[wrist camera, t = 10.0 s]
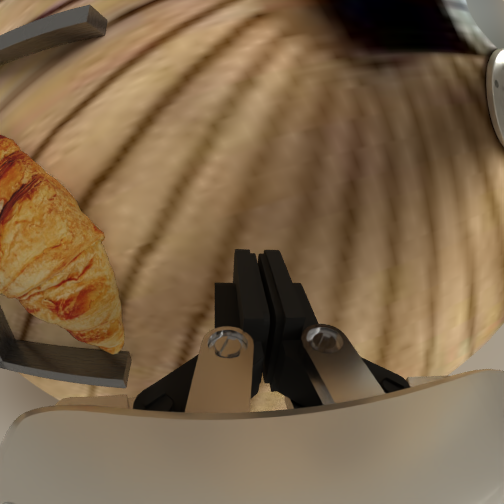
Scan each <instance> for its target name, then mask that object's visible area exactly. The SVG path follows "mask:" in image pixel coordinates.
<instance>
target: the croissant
mask: <svg viewBox="0 0 504 504" xmlns="http://www.w3.org/2000/svg"><path fill="white" fill-rule="evenodd" d="M104 238H105V236H104V233H103V232H102V231H101V230H99V229H98V228H97V227H96V226H95V225H94V224H93V223H92V222H91V220H90V219H89V218H88V217H87V216H86V215H85V214H83V213H82V212H81V210H80V208H79V206H78V204H77V202H76V200H75V199H74V198H73V196H72V195H71V194H70V193H69V192H68V191H67V190H66V189H65V188H64V187H63V186H62V185H61V184H60V183H59V182H58V181H57V180H56V179H55V178H53V177H52V176H50V175H48V174H47V173H46V172H45V171H44V170H43V169H42V168H41V166H40V165H38V164H37V163H36V162H34V161H33V160H32V159H31V158H30V157H29V156H28V155H27V154H25V153H24V152H22V151H21V150H20V148H19V146H18V145H17V144H16V143H15V142H14V141H13V140H12V139H9V138H7V137H5V136H2V135H0V294H3V295H5V296H6V297H7V298H16V299H18V300H19V301H20V303H21V304H22V305H23V307H24V308H25V309H26V310H27V311H28V312H29V313H30V314H32V315H34V316H35V317H37V318H39V319H41V320H43V321H45V322H47V323H52V324H57V325H58V326H60V327H62V328H64V329H66V330H67V331H68V332H69V333H70V334H71V335H72V336H73V337H74V338H75V339H77V340H78V341H81V342H85V343H87V344H91V345H95V346H98V347H99V348H101V349H103V350H104V351H106V352H109V353H111V354H117V353H118V352H119V351H120V350H121V349H122V347H123V345H124V338H125V335H124V327H123V323H122V315H121V313H122V308H121V302H120V299H119V290H118V288H117V285H116V279H115V275H114V272H113V270H112V268H111V266H110V263H109V260H108V257H107V255H106V252H105V249H104V247H103V245H102V243H101V242H102V241H103V240H104Z"/></svg>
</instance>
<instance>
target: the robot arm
mask: <svg viewBox="0 0 504 504" xmlns="http://www.w3.org/2000/svg"><path fill="white" fill-rule="evenodd" d="M486 89H487V100H488V107H489V111H490V116H491V120H492V123H493V127H494V129H495V132H496V135H497V137H498V139H499V140H500V142H501V144H502V145H503V147H504V49H497V50H495V51H494V52H493V53H492V55H491V57H490V59H489V62H488V66H487V73H486ZM262 372H263V378H264V382H265V383H270V388H271V392H274V391H278V392H280V393H281V394H283V395H284V396H285V404H286V406H287V409H288V410H276V411H262V412H250V400H251V398H252V397H254V396H255V395H256V394H257V393H258V390H259V384H260V383H261V378H262ZM0 504H504V371H501V370H493V369H492V370H491V369H483V370H474V371H469V372H464V373H461V374H457V375H453V376H432V377H408V378H407V379H406V380H405V379H404V378H403V377H401V376H399V375H398V374H395V373H393V372H391V371H389V370H387V369H385V368H383V367H380V366H378V365H376V364H374V363H372V362H370V361H368V360H366V359H364V358H362V357H360V356H359V354H358V353H357V351H356V350H355V348H354V347H353V346H352V344H351V343H350V341H349V340H348V338H347V337H346V336H345V335H344V333H343V332H342V331H340V330H339V329H337V328H336V327H333V326H330V325H326V324H318V322H317V319H316V317H315V315H314V312H313V310H312V308H311V305H310V303H309V301H308V298H307V296H306V294H305V291H304V289H303V287H302V285H301V283H292V281H291V278H290V276H289V273H288V271H287V268H286V265H285V263H284V260H283V258H282V255H281V253H280V251H279V250H264V254H259V256H258V263H257V259H256V255H255V253H250V250H244V249H235V254H234V273H233V283H215V329H213V330H211V331H209V332H208V333H207V334H206V335H205V336H204V338H203V340H202V343H201V347H200V351H199V354H198V355H197V356H195V357H194V358H192V359H191V360H189V361H188V362H186V363H185V364H183V365H182V366H180V367H179V368H177V369H176V370H174V371H173V372H171V373H170V374H168V375H167V376H165V377H164V378H162V379H161V380H159V381H158V382H156V383H154V384H153V385H151V386H150V387H148V388H147V389H145V390H143V391H142V392H141V393H140V394H139V395H138V396H137V397H132V398H128V397H127V395H115V396H98V397H70V398H65V399H62V400H60V401H59V402H57V403H56V405H55V406H48V407H41V408H37V409H34V410H31V411H28V412H25V413H24V414H22V415H20V416H19V417H18V418H17V419H16V420H15V421H14V422H13V423H12V425H11V426H10V427H9V429H8V431H7V432H6V434H5V437H4V439H3V441H2V443H1V445H0Z"/></svg>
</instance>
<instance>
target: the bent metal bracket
mask: <svg viewBox="0 0 504 504" xmlns="http://www.w3.org/2000/svg"><path fill="white" fill-rule="evenodd" d="M106 26H107V20H106V19H105V18H104V17H103V16H102V15H101V14H100V13H99V12H98V11H96V10H95V9H94V8H93V7H92V6H91V5H87V6H83V7H79V8H75V9H71V10H67V11H64V12H61V13H57V14H54V15H51V16H48V17H45V18H42V19H39V20H37V21H34V22H31V23H29V24H26V25H24V26H21V27H19V28H16V29H14V30H12V31H9V32H7V33H5V34H3V35H1V36H0V65H3V64H5V63H8V62H10V61H13V60H15V59H18V58H21V57H24V56H26V55H29V54H32V53H35V52H38V51H42V50H45V49H48V48H52V47H55V46H59V45H63V44H67V43H71V42H75V41H79V40H84V39H88V38H93V37H99V36H104V35H105V32H106ZM130 365H131V357H130V354H129V352H123V351H119V352H118V353H117V354H111V353H109V352H106V351H104V350H94V349H83V348H73V347H64V346H56V345H48V344H41V343H34V342H28V341H22V340H16V339H15V338H14V336H13V334H12V332H11V329H10V327H9V325H8V323H7V321H6V318H5V316H4V314H3V311H2V309H1V306H0V368H3V369H7V370H11V371H15V372H20V373H24V374H29V375H33V376H38V377H43V378H49V379H54V380H60V381H67V382H73V383H80V384H88V385H96V386H106V387H116V388H126V387H127V381H128V376H129V370H130Z"/></svg>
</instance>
